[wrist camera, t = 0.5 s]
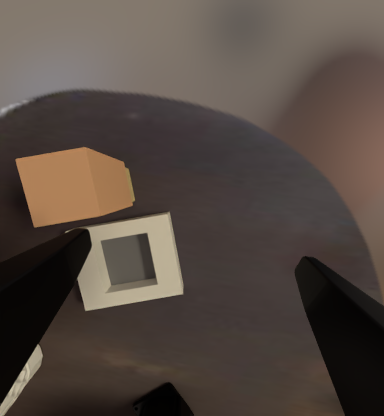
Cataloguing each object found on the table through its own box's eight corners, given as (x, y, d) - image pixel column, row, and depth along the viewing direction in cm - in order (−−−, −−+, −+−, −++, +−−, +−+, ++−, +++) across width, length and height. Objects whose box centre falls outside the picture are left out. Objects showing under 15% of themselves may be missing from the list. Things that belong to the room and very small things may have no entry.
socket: (183, 285, 24) (182, 293, 22) (94, 300, 24) (85, 310, 22) (169, 211, 23) (167, 213, 21) (75, 227, 23) (65, 231, 21)
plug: (138, 203, 23) (101, 216, 13) (101, 210, 23) (34, 227, 13) (131, 165, 22) (85, 147, 12) (92, 171, 22) (15, 159, 12)
